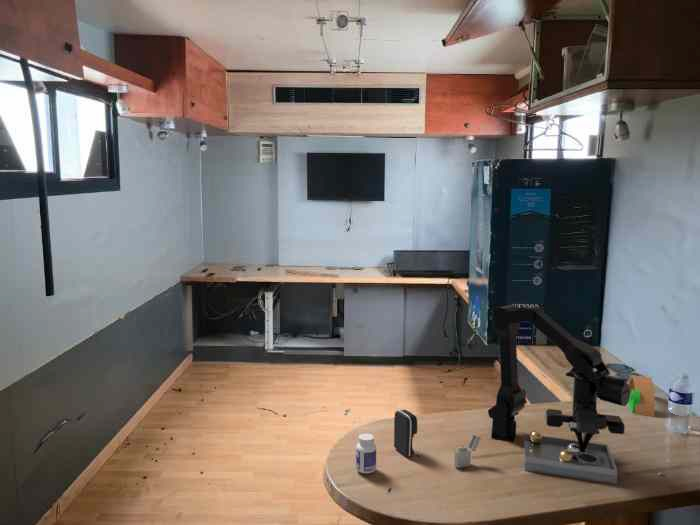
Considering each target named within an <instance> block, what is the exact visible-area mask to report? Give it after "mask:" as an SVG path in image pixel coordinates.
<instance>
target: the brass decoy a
mask: <svg viewBox="0 0 700 525" xmlns="http://www.w3.org/2000/svg"><path fill="white" fill-rule="evenodd" d="M529 434H530V439H531V441H532V442H534V443H539V442H541V440H542V436H543V434H542V433H541V432H540V431H539V430H531V431H530V433H529Z"/></svg>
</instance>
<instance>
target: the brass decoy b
mask: <svg viewBox="0 0 700 525" xmlns="http://www.w3.org/2000/svg"><path fill="white" fill-rule="evenodd" d="M559 460H560V461H561V462H567V463H571V462H572V460H573V456H572V454H571V453H570V452H569V451H567V450H563V451H561V452H560V453H559Z"/></svg>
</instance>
